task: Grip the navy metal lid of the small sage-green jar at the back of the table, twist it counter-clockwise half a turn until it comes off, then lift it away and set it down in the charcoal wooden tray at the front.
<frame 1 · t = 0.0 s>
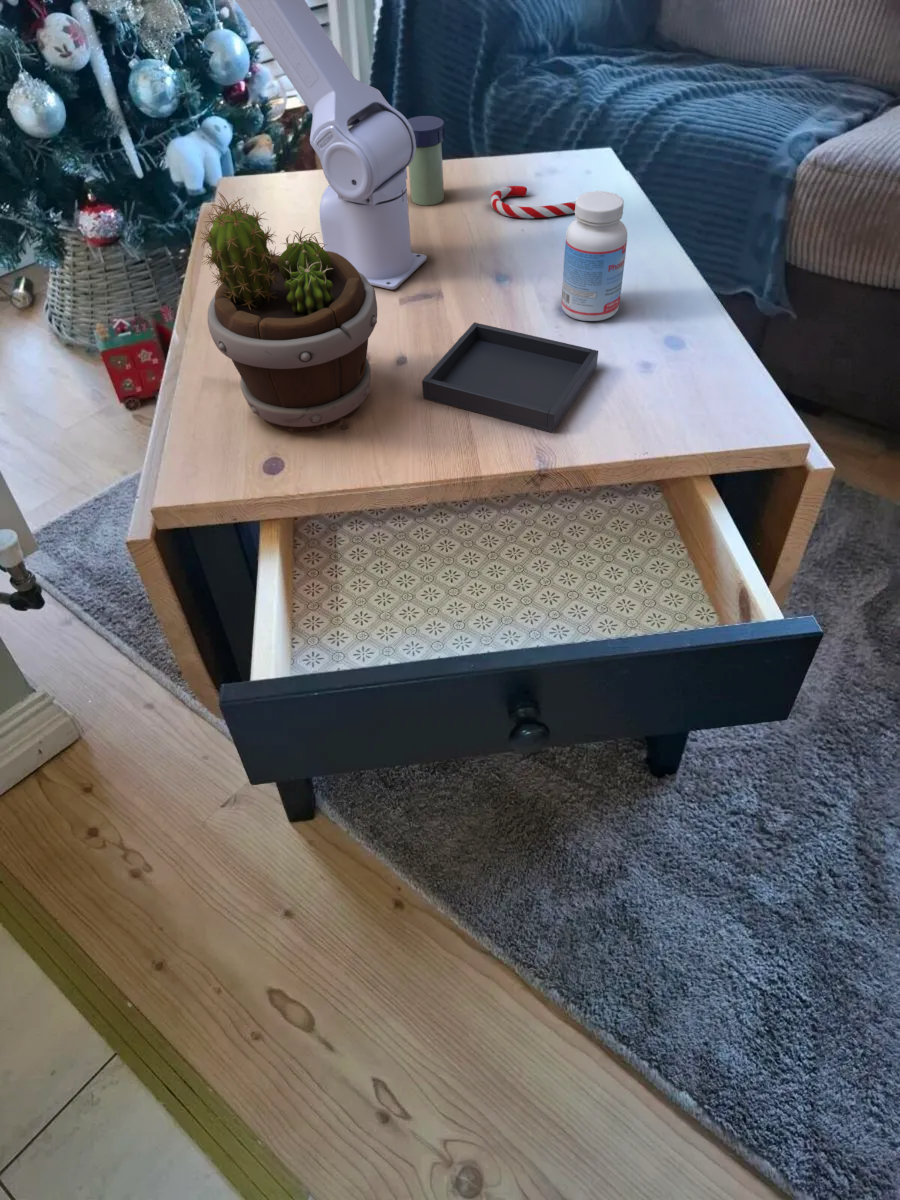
tray: (511, 383, 80), on the table
flowerpot: (310, 403, 80), on the table
candy cane: (549, 207, 106), on the table
jar: (427, 198, 109), on the table
pill bottle: (589, 310, 89), on the table
jar lid: (423, 125, 102), point 9 cm above the table, screwed on, not yet turned
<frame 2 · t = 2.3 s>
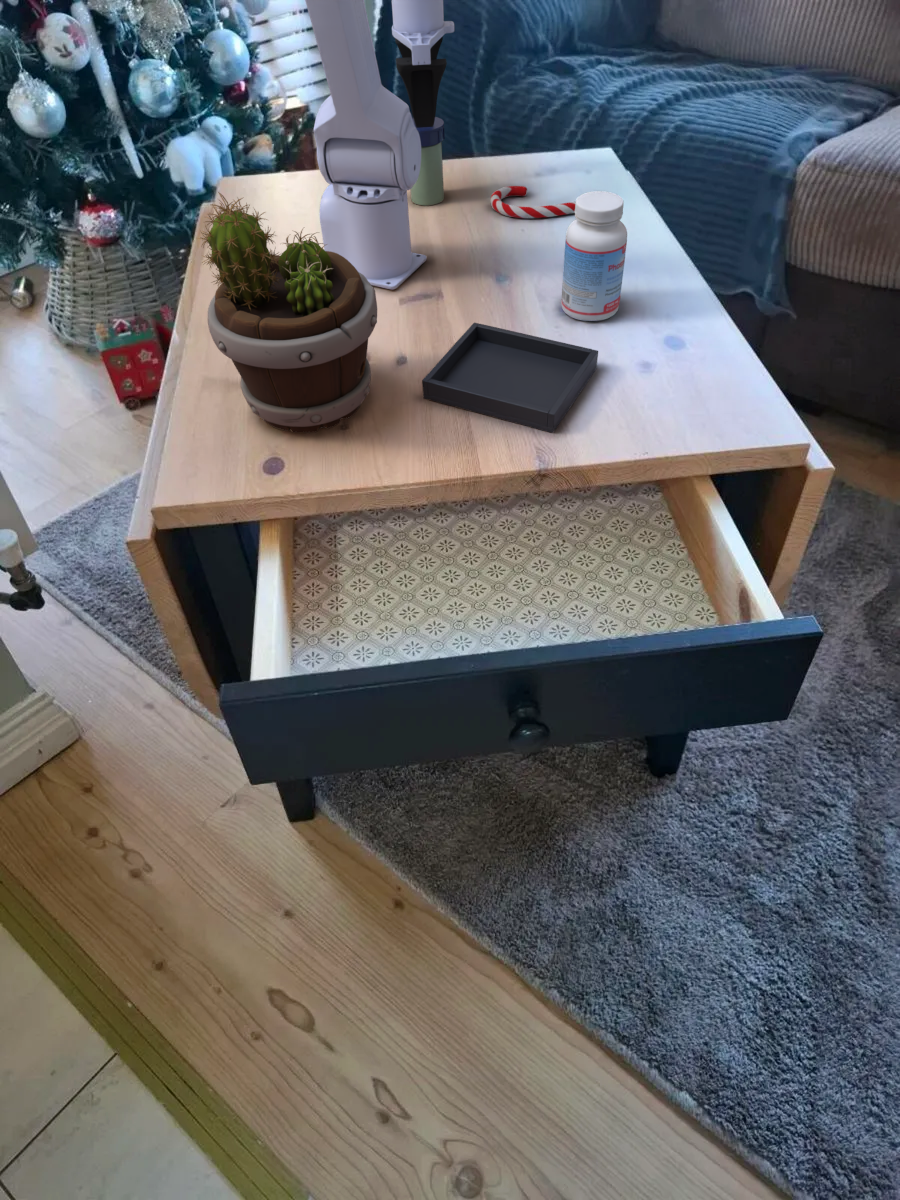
hand: (423, 114, 101), 10 cm above the table, tool pointing down, fingers open, 7 cm apart
nothing on the table moved.
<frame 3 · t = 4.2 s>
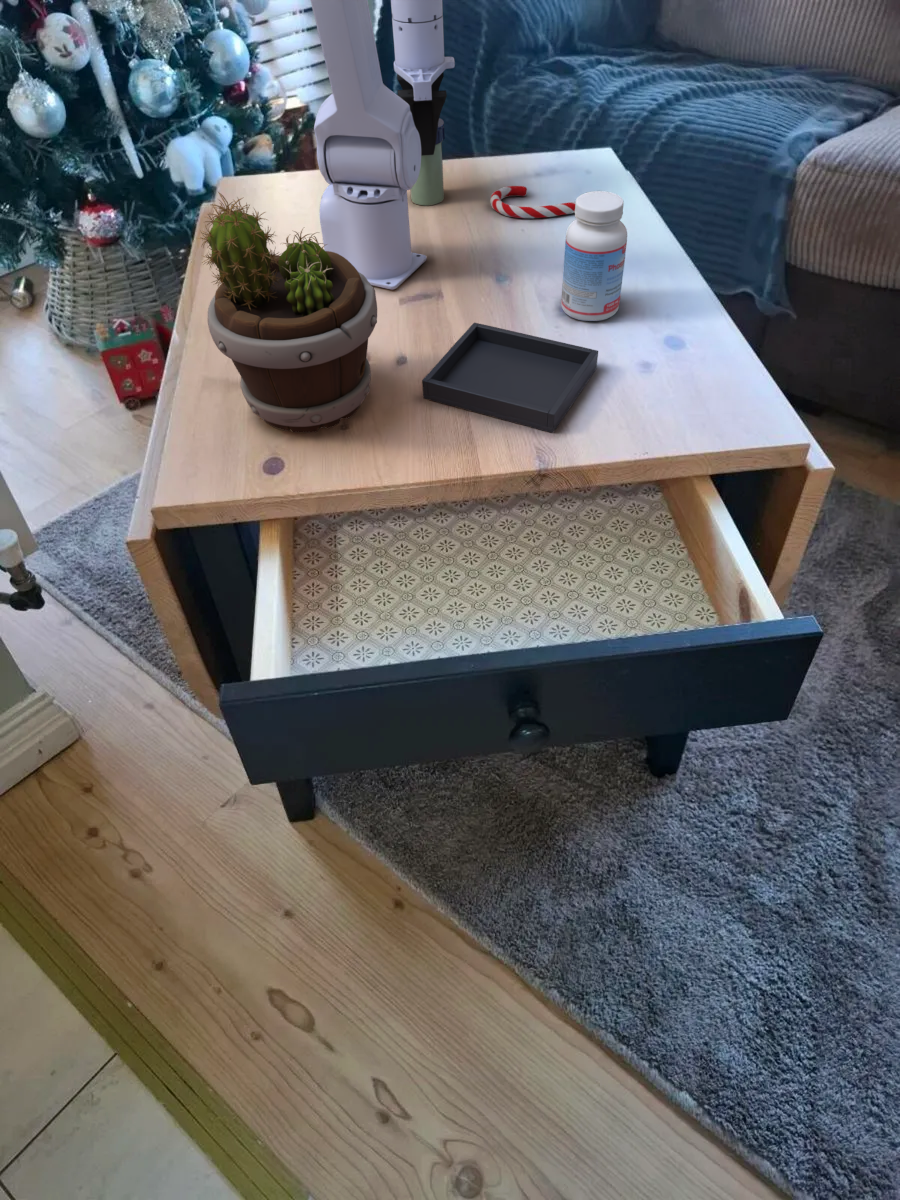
hand: (424, 145, 104), 6 cm above the table, tool pointing down, fingers closed on jar lid, 5 cm apart
jar lid: (423, 125, 102), point 9 cm above the table, screwed on, not yet turned, touching gripper
everything else where it was.
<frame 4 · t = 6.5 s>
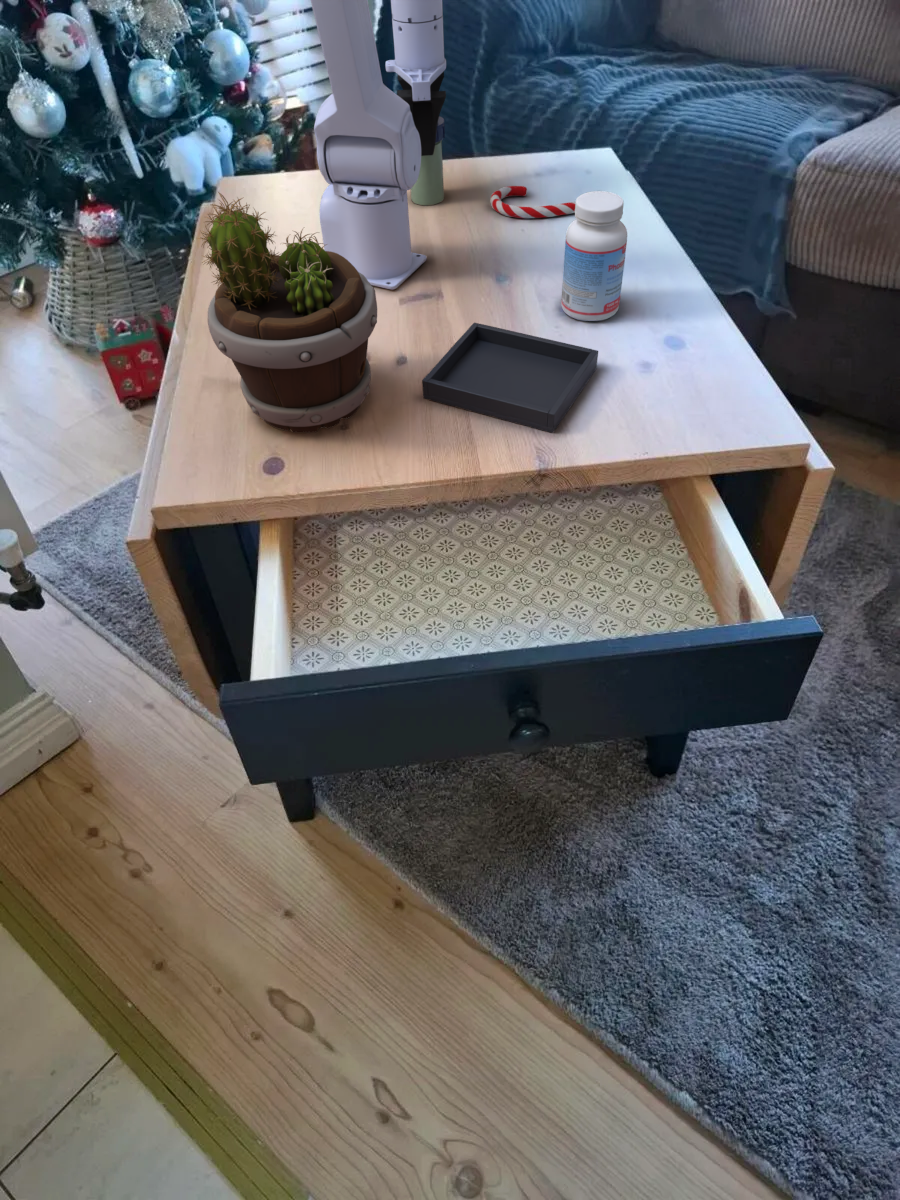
hand: (424, 145, 104), 6 cm above the table, tool pointing down, fingers closed on jar lid, 5 cm apart
jar lid: (423, 124, 102), point 9 cm above the table, off its thread, touching gripper
everything else where it was.
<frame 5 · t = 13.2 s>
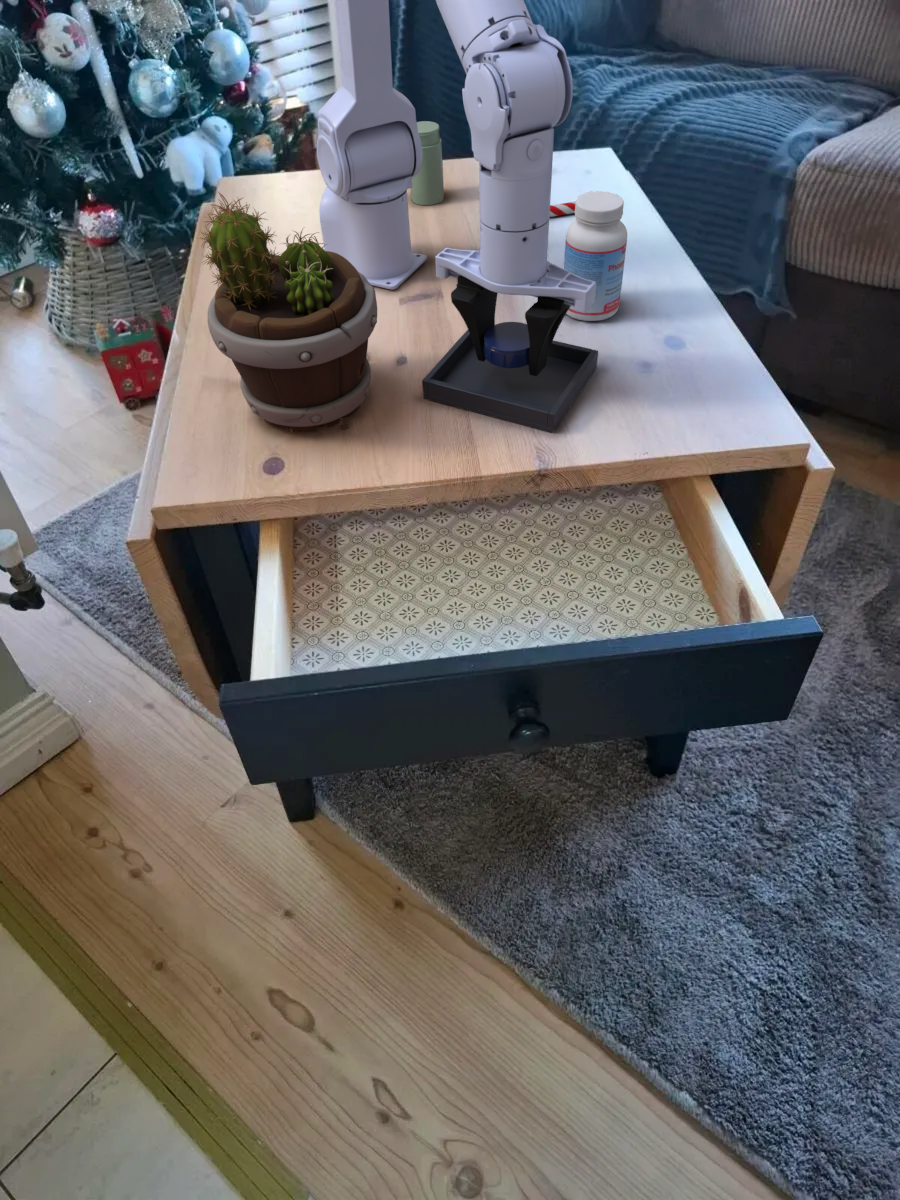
hand: (511, 363, 79), 2 cm above the table, tool pointing down, fingers closed on jar lid, 5 cm apart
jar lid: (511, 338, 77), point 5 cm above the table, off its thread, touching gripper
everything else where it was.
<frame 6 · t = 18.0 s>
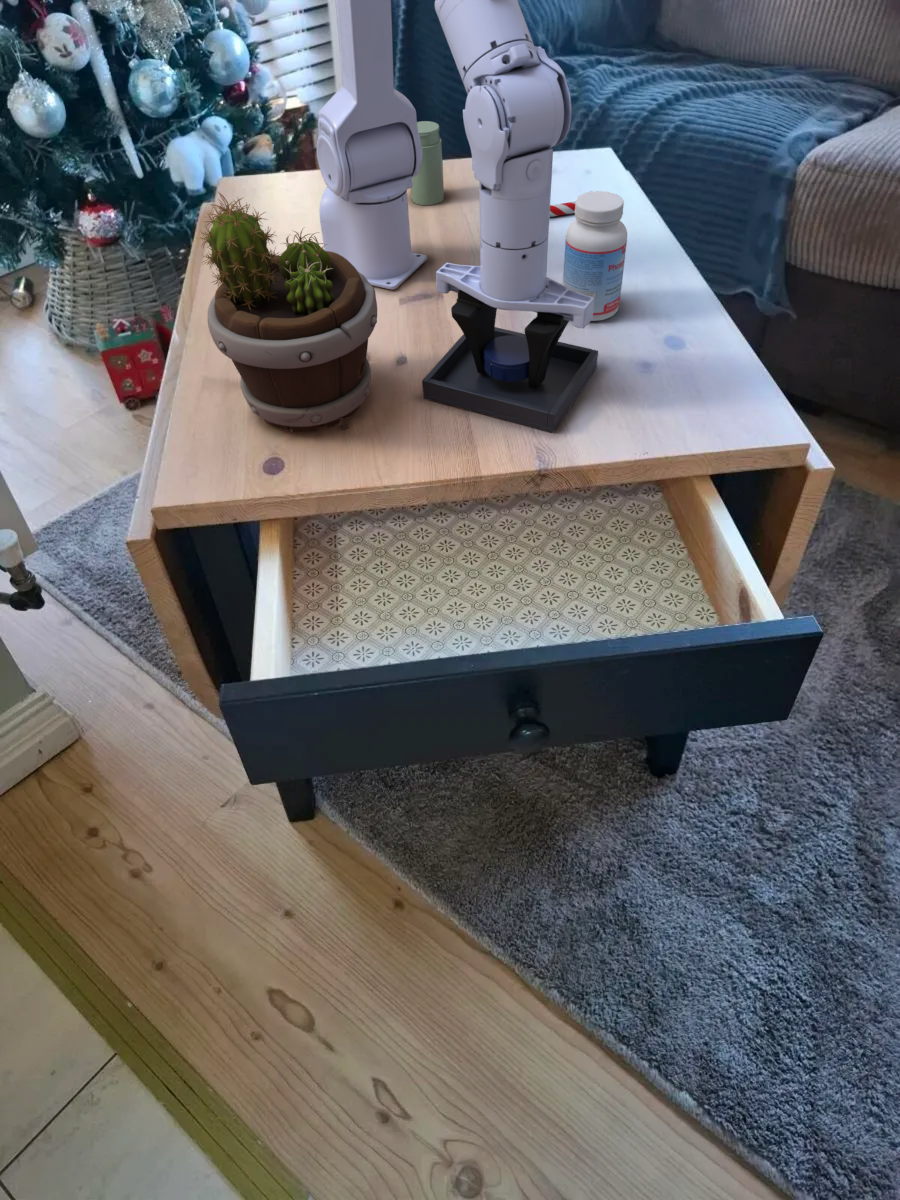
hand: (511, 375, 80), 1 cm above the table, tool pointing down, fingers closed on jar lid, 5 cm apart
jar lid: (510, 352, 78), point 3 cm above the table, off its thread, touching gripper
everything else where it was.
when the fingers open (2 cm above the table, at t = 22.3 s): jar lid drops 2 cm, resting on tray.
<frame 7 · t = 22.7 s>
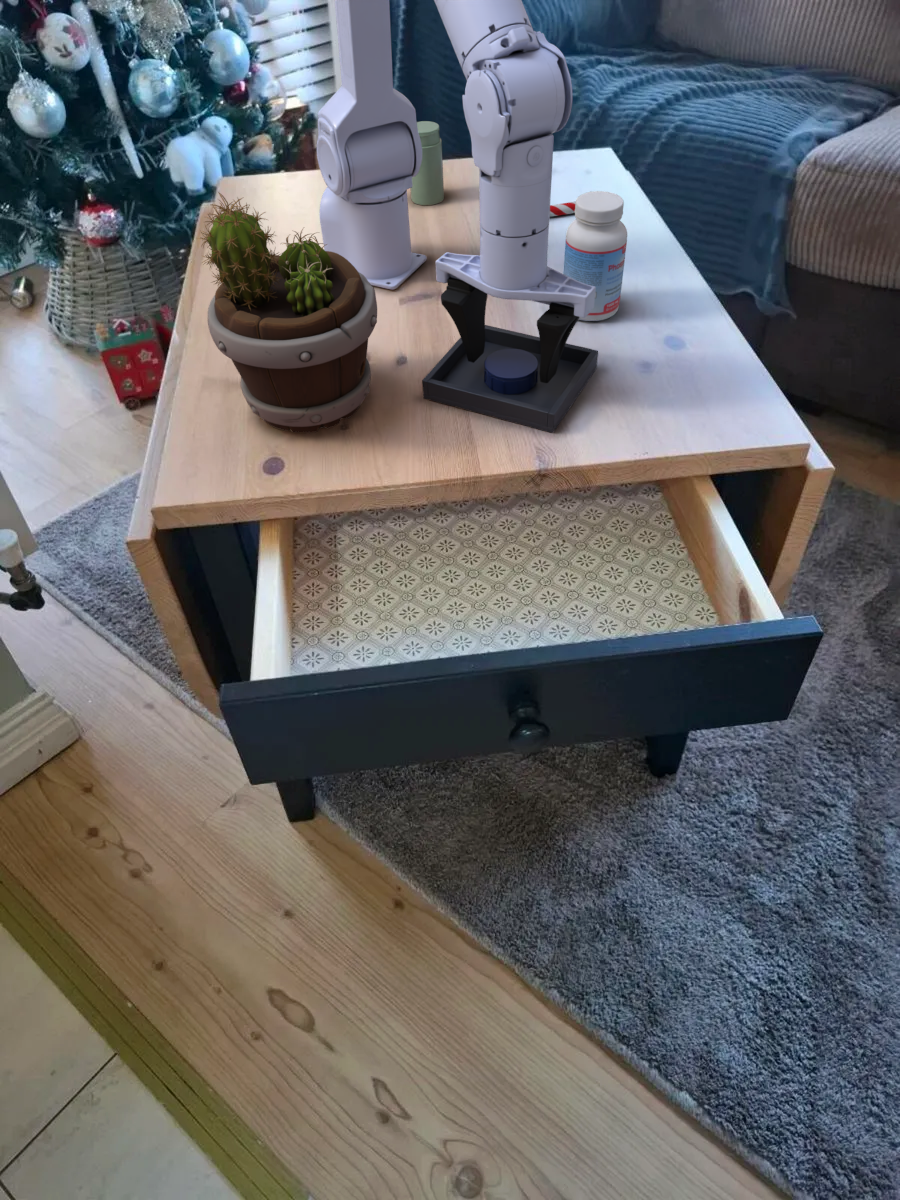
hand: (511, 366, 79), 2 cm above the table, tool pointing down, fingers open, 7 cm apart
jar lid: (511, 365, 79), point 2 cm above the table, off its thread, touching tray
everything else where it was.
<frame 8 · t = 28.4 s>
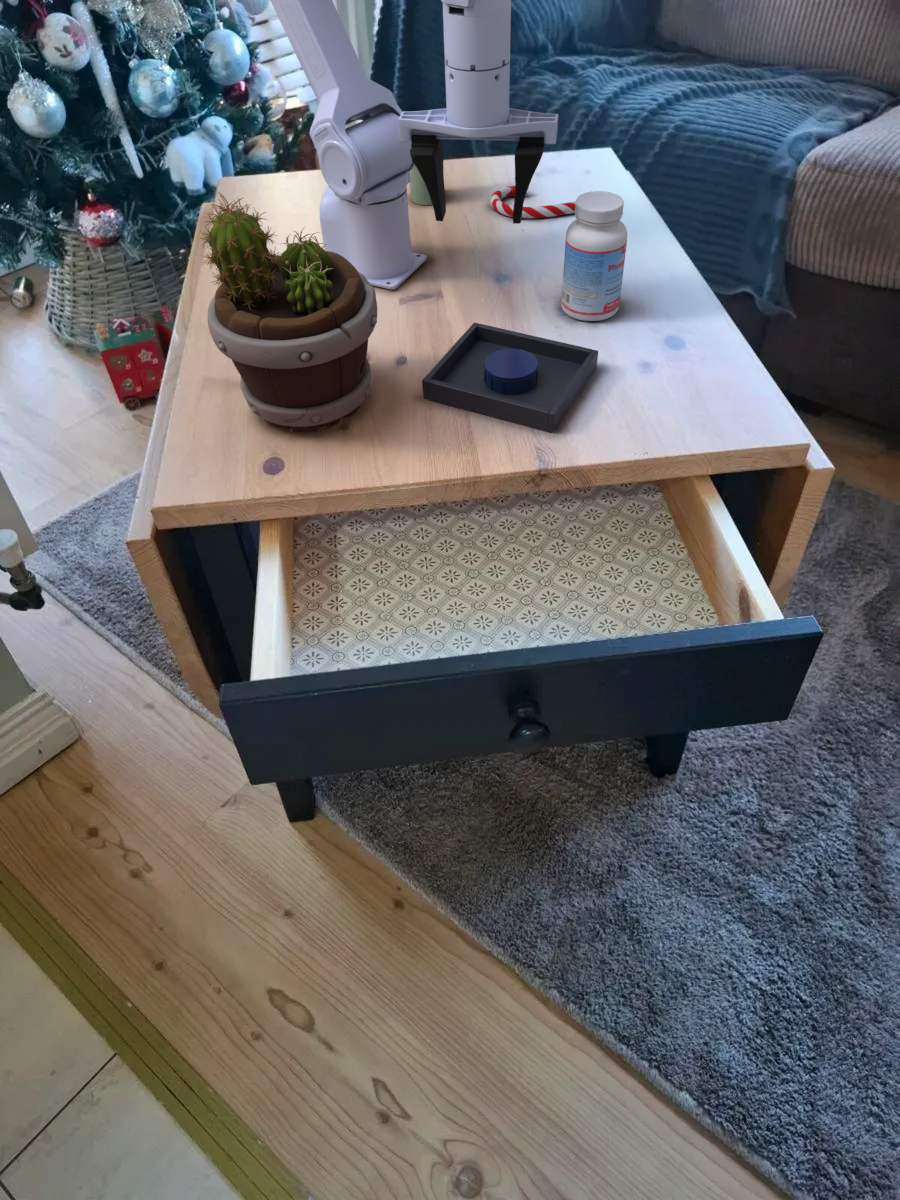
hand: (479, 218, 83), 9 cm above the table, tool pointing down, fingers open, 7 cm apart
nothing on the table moved.
at the end: jar lid inside the target area on the tray (0.1 cm from its centre), point 2.0 cm above the tray's base; the gripper is holding nothing; jar tilted 0° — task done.
